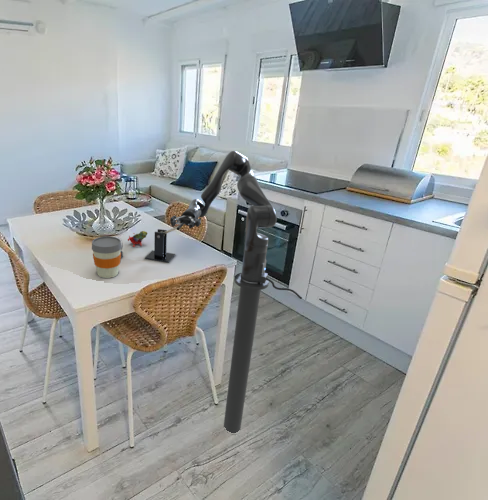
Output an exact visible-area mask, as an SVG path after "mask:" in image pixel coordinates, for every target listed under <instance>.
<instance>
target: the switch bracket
mask: <svg viewBox="0 0 488 500" xmlns="http://www.w3.org/2000/svg"><path fill="white" fill-rule="evenodd" d="M161 231H163V232H165V231H168V229H161V228H158V229H157V231H154V241H153V243H154V247H153V248H154V249H153V250H151V251H150V252H149V253H148V254H147V255H146V256H145V257H144V260H148V261H154V262H160V263H167V264H170V262H171V261H172V260H173V259H174V258H175V256H176V253H172V252H167V243H168V242H167V241H168V237H167V236H168V235H167V234H168V233H167V234H165V236H164V233H162V232H161Z"/></svg>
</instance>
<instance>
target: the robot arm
mask: <svg viewBox="0 0 488 500" xmlns="http://www.w3.org/2000/svg"><path fill="white" fill-rule="evenodd" d="M227 171H230V172H232V173H234V174H235V175H237V177H238V180H237V183H236V187H237V191H238V193H239V195H240V197H241V198H242V199H243V200H244V201H245V202H247V203H249V204H250V206H249V207H248V209H247V213H246V222H245V223H246V224H245V240H244V249H243V257H242V265H241V272H240V273H241V280H242V281H244V282H246V283H249V284H259V285H260V284H261V283H265V282H266V280H268V281H269V283H270V284H271V285H272V287H273V289H274V290H279V291H289V292H291V293H293V294H295V295H296V296H297V297H298V298H299V299H300V300H302V299H303V297H302V296H301V295H300V294H299V293H297V291H295V290H294V289H291V288H288V287H278V286H276V285H275V283H274V281H273V280H272V279H270V278H269V277H268V276H269V273H267V272H266V269H267V268H266V267H267V261H268V260H267V254H268V253H267V252H268V246H269V237H268V236H267V235H265V234H262V233H260V232H258V229H269V228H273V227H275V225H276V224H277V221H278V220H277V219H278V218H277V217H278V216H277V212H276V210H275V207H274V206H273V204H272V203H271V201H269V198H268V197H267V196H266V195H265V193H264V191H263V189H262V187H261V185H260V183H259V181H258V179H257V177H256V175H255V174H254V172H253V170H252V166H251V164H250V161H249V159H248V157H246V156H245V155H243V154H241V153H240V152H238V151H236V150H231V151H230V152H228V153H227V154H226V156H225V157H224V159H223V160H222V162H221V164H220V165H219V167H218V169H217V171H216V173H215V174H214V176H213V178H212V179H211V180H210V183H209V184H208V185H207V186H206V188H205V189H204V190H203V191H202V192H201V194H200V198H201V200H202V201H203V202H202V201H201V200H200V199H198V198H194V199H192V200H191V201H190V203H189V205H188V208H186V210H185V211H184V212H183V213H181V215H180V216H177V215H175V214H174V215H172V216H171V217H170V219H169V223H170V224H171V225H170V226H171V227H176V225H180V224H181V223H184V226H188V229H190V230H191V229H193V228H195V227H196V228H200V225H201V224H202V218H204V217H205V216H206V215H207V213H208V211H209V209H210V206H211V205H212V203H213V201H214V200H215V199H217V197H218V195H220V192H221V191H222V185H223V180H224V176H225V174H226V173H227Z"/></svg>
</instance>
